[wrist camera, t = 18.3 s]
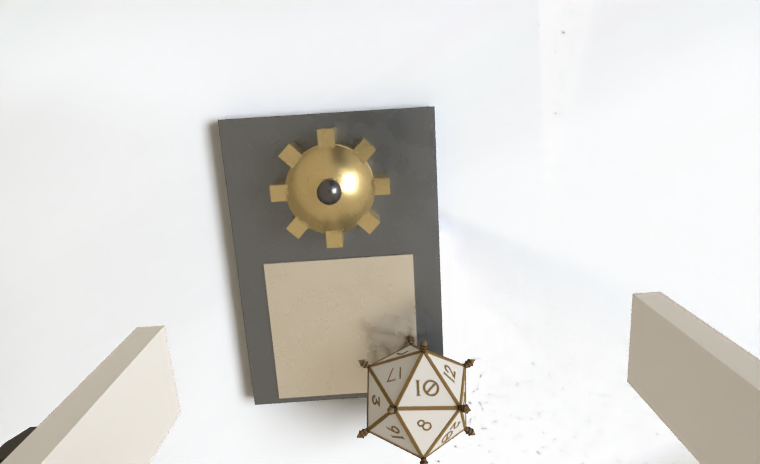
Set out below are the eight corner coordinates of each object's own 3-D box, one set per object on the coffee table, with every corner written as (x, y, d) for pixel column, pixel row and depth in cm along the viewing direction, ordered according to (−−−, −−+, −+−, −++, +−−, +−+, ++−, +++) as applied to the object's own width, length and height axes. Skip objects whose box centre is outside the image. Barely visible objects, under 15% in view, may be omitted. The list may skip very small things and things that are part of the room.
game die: (321, 403, 40) (430, 471, 41) (324, 432, 32) (460, 518, 32) (383, 304, 42) (487, 371, 42) (401, 307, 33) (530, 390, 34)
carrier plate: (222, 119, 37) (201, 121, 32) (432, 106, 37) (442, 106, 33) (257, 396, 42) (244, 433, 37) (442, 383, 42) (452, 418, 38)
